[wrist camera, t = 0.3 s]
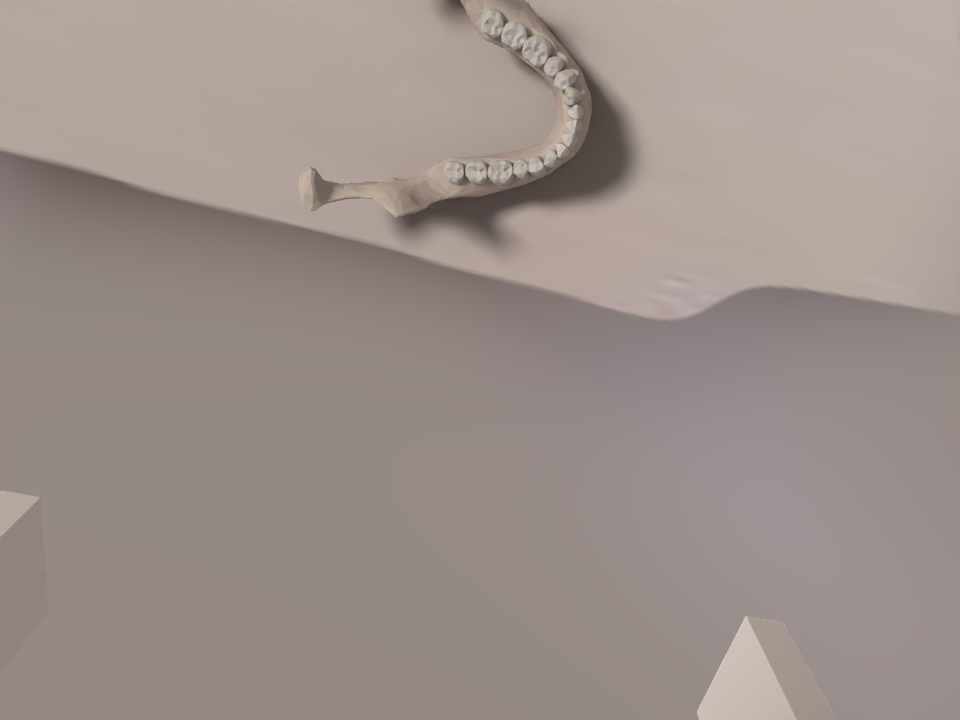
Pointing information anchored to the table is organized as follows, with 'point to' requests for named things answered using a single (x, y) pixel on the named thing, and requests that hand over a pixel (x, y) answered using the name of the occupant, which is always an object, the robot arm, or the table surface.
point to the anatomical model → (523, 33)
